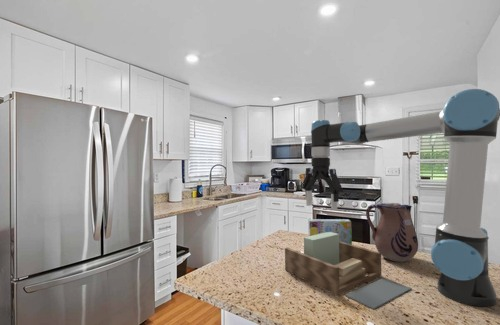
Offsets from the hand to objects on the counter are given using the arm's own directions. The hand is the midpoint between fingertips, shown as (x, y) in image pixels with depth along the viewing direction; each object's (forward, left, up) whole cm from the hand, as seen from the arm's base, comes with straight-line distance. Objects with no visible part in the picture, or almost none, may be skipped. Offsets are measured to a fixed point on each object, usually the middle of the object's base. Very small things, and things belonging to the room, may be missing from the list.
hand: (321, 207), depth 111 cm
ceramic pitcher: (-10, -36, -26) cm, 46 cm away
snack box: (+16, -24, -26) cm, 39 cm away
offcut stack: (-13, 0, -26) cm, 29 cm away
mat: (-25, 0, -26) cm, 36 cm away
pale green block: (0, 0, -26) cm, 26 cm away
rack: (-5, 0, -26) cm, 26 cm away
